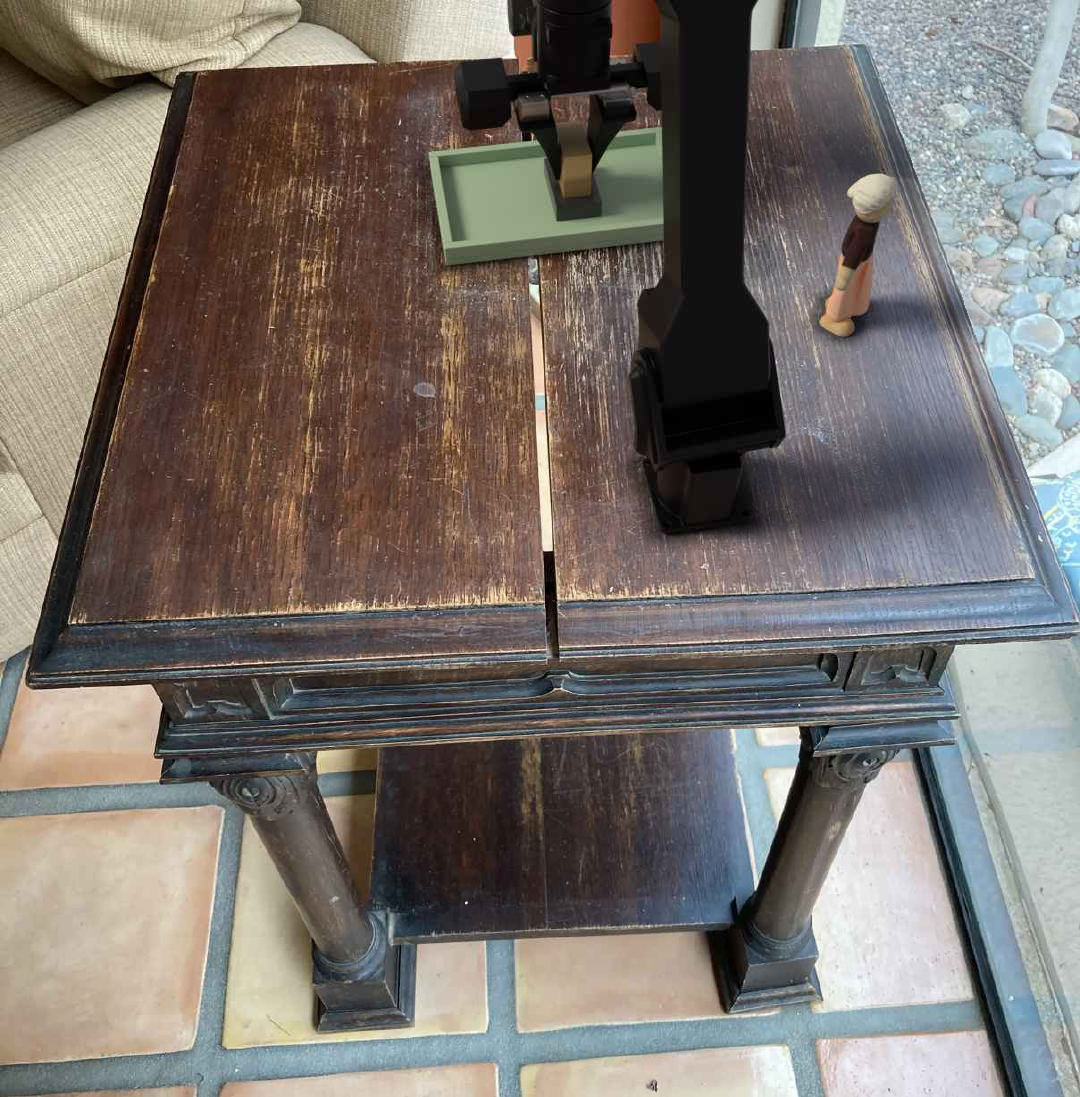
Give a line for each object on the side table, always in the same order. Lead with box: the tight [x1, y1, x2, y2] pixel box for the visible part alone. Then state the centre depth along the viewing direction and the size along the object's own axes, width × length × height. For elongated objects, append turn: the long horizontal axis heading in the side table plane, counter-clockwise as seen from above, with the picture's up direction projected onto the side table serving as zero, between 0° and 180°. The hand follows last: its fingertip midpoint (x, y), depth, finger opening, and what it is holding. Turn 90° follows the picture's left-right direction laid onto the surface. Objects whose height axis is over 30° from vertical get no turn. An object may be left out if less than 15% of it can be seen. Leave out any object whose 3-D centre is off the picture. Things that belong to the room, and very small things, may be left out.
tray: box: [428, 126, 664, 266], centre depth 92 cm, size 14×22×2 cm, turn 99°
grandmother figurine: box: [819, 173, 899, 338], centre depth 79 cm, size 8×4×13 cm, turn 168°
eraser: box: [544, 120, 602, 221], centre depth 90 cm, size 7×4×6 cm, turn 9°
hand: (572, 175), depth 91 cm, fingers closed on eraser, 2 cm apart
